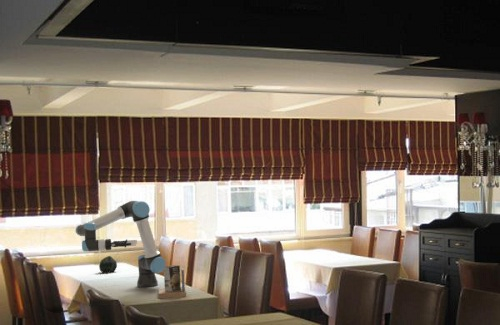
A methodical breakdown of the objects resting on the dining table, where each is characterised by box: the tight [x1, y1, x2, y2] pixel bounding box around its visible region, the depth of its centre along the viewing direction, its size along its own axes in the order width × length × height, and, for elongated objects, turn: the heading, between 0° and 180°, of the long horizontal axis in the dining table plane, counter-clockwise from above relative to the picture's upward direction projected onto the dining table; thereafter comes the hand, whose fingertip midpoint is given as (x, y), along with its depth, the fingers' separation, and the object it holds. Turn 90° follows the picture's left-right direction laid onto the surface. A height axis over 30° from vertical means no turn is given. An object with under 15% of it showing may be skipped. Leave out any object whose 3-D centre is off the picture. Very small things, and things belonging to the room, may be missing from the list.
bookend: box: [180, 266, 186, 291], centre depth 484 cm, size 16×2×14 cm, turn 7°
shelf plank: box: [158, 286, 187, 299], centre depth 483 cm, size 22×18×3 cm
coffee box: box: [163, 264, 182, 291], centre depth 483 cm, size 9×6×16 cm
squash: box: [98, 255, 118, 274], centre depth 620 cm, size 14×15×15 cm
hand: (136, 242), depth 495 cm, fingers open, 13 cm apart
